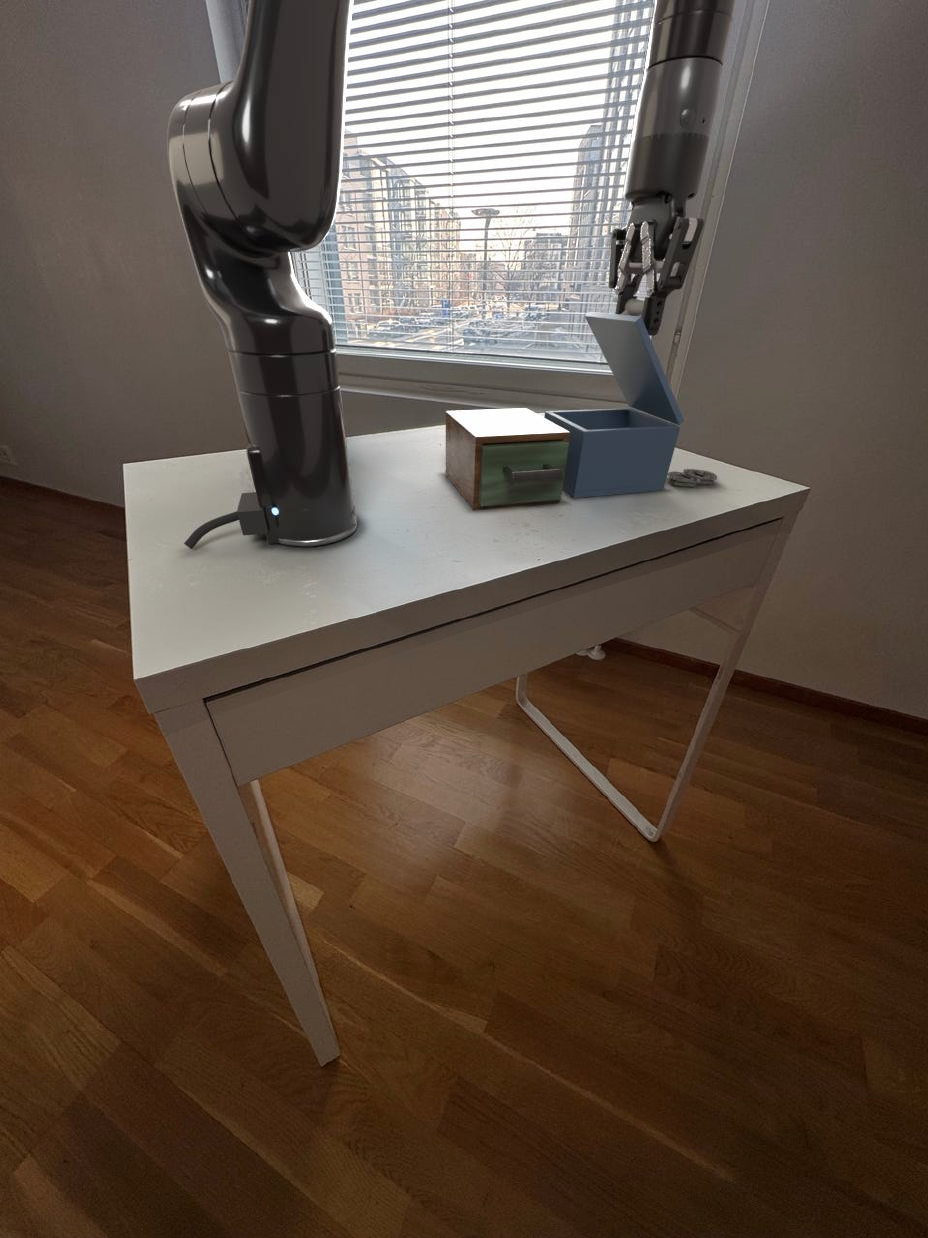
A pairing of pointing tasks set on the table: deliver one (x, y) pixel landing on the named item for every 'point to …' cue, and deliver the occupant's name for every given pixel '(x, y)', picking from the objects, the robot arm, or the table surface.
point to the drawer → (521, 472)
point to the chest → (615, 451)
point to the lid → (635, 361)
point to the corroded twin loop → (691, 477)
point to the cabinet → (490, 427)
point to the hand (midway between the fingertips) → (634, 332)
